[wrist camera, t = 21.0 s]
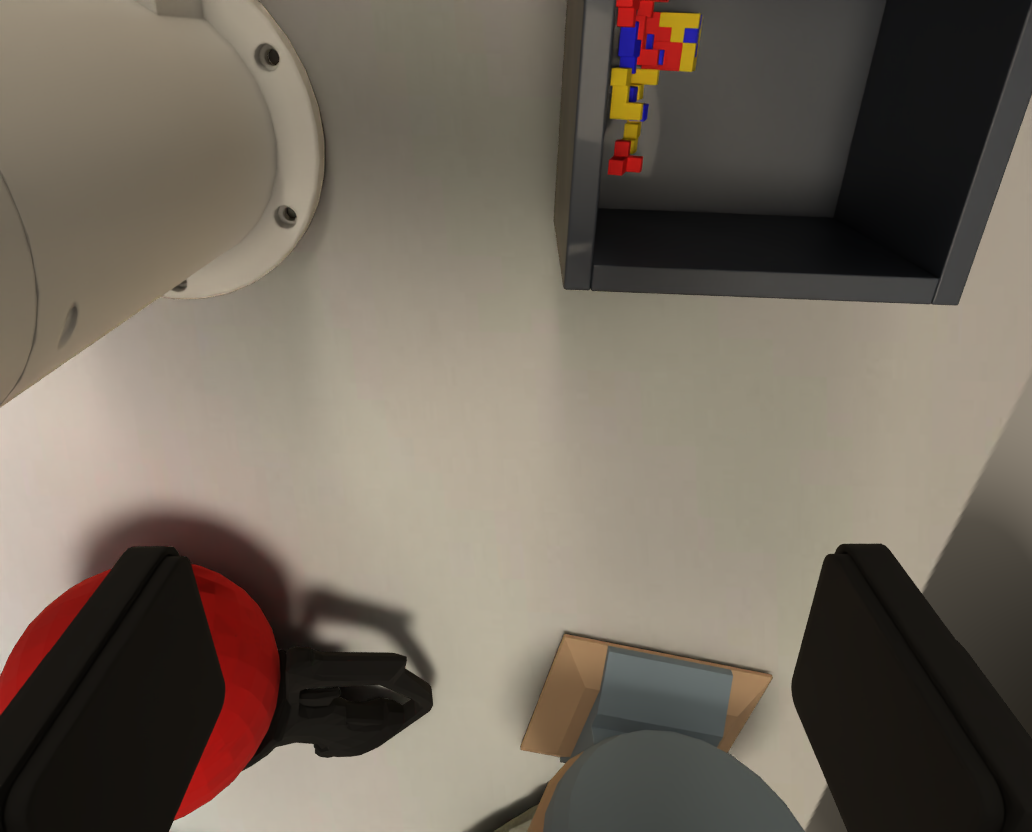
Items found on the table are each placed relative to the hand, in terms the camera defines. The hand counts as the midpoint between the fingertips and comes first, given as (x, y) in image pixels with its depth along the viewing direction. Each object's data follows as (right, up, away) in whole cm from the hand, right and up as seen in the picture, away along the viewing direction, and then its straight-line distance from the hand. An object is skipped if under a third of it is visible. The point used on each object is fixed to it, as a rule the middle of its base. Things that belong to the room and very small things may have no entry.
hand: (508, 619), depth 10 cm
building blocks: (+4, +14, +11) cm, 18 cm away
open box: (+8, +17, +15) cm, 23 cm away
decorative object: (-14, -9, +29) cm, 33 cm away
